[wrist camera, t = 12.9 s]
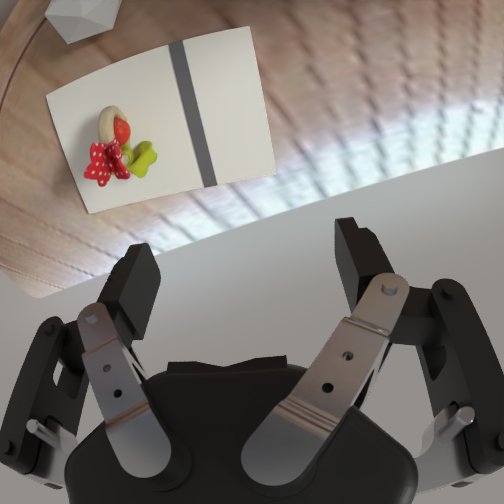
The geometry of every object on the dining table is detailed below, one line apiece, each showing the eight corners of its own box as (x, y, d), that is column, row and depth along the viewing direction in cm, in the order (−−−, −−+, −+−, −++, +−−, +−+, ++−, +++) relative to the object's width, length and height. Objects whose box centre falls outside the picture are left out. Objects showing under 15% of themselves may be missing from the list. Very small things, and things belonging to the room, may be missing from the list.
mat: (49, 94, 29) (45, 95, 28) (249, 26, 26) (249, 25, 26) (91, 211, 39) (88, 214, 39) (276, 172, 37) (276, 174, 36)
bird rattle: (107, 124, 33) (119, 191, 35) (56, 110, 23) (68, 196, 25) (150, 108, 33) (163, 177, 35) (106, 85, 22) (120, 177, 24)
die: (138, 30, 26) (134, -27, 17) (72, 68, 25) (47, 17, 15) (111, -2, 25) (104, -54, 16) (51, 32, 24) (29, -16, 14)
